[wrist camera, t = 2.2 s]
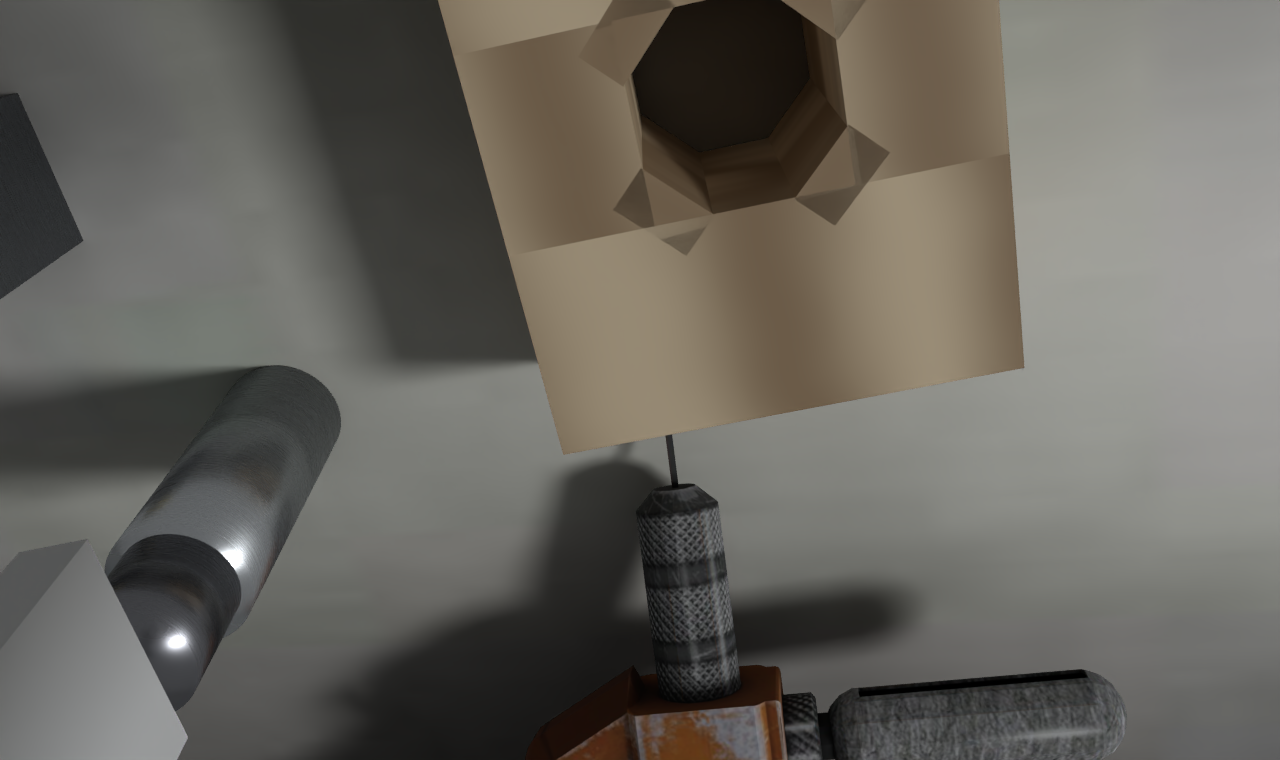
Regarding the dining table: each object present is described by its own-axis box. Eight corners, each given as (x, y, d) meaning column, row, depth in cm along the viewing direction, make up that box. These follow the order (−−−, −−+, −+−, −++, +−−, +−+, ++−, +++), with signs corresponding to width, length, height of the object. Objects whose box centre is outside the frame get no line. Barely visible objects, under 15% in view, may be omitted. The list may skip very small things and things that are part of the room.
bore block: (574, 360, 35) (563, 454, 29) (426, -209, 28) (376, -224, 22) (961, 284, 34) (1024, 367, 28) (904, -325, 27) (973, -370, 21)
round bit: (250, 474, 36) (86, 740, 25) (209, 377, 35) (17, 615, 24) (355, 455, 36) (236, 714, 25) (319, 355, 34) (174, 586, 24)
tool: (215, 1227, 35) (1201, 1200, 32) (96, 386, 35) (1092, 255, 31) (272, 1136, 39) (1153, 1102, 36) (167, 381, 39) (1055, 264, 35)
